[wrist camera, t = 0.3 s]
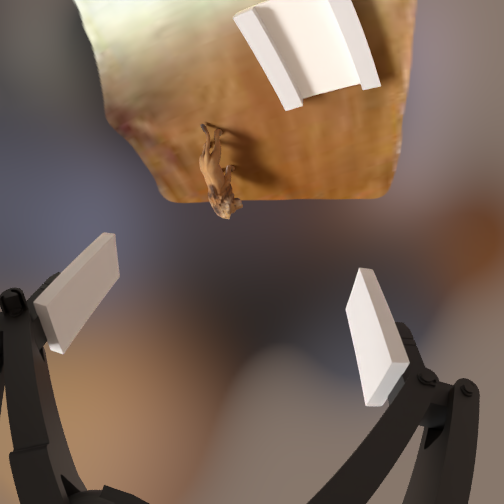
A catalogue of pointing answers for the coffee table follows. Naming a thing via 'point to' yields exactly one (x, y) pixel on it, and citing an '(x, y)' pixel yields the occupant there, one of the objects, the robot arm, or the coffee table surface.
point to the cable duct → (308, 47)
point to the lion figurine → (218, 178)
